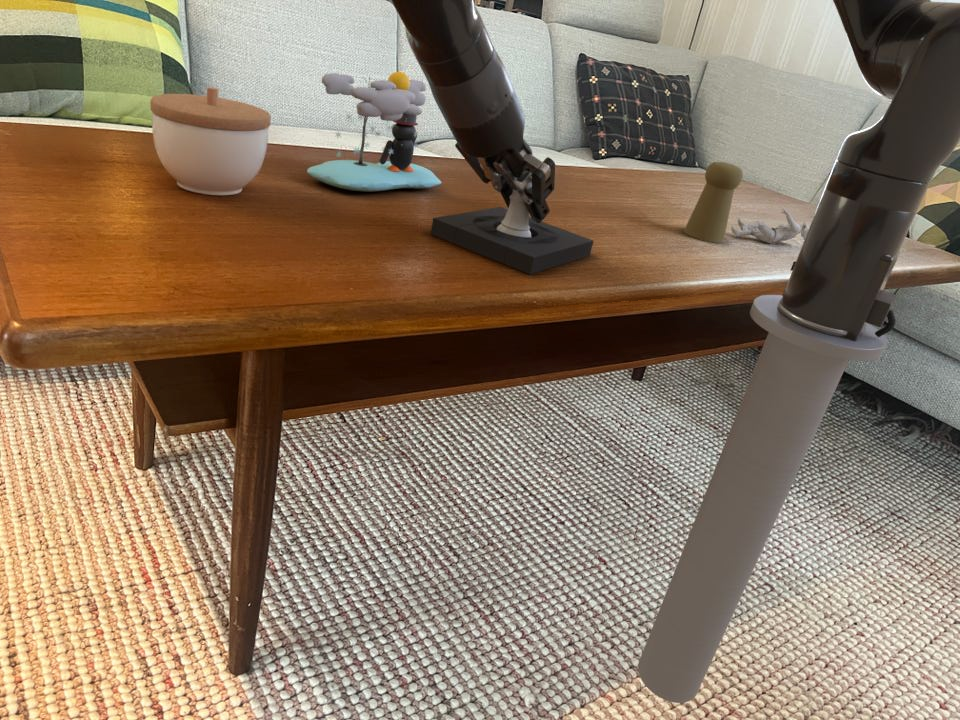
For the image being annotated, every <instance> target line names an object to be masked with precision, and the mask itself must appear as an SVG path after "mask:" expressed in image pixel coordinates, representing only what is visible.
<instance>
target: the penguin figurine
mask: <svg viewBox="0 0 960 720" xmlns="http://www.w3.org/2000/svg"><path fill="white" fill-rule="evenodd" d="M361 79H363V77H361ZM368 80H369V81H368V82H367V80H366V79H364V81H365V82H367V84H368V85H369V86H367V87H365V86H363V87H362V86H359V87H354V86H353V85H354V83H355V78H354V77H353V76H352V75H349V74H340V73H338V72H337V73H336V72H335V73H334V72H333V73H332V72H330V73H326V74H324V75H323V76H322V77H321V83H322V84H323V86H324V87H325V93H326V94H328V95H343V96H351V97H353V98H355V99H357V100H359V102H358V103H357V104H356V114H357V115H358V117H357V119H358V120H363V126H362V134H361V133H360V132H358V133H359V135H361V143H360V148H359V146H357V147H353V150H352V153H354V155H359V160H357V159H356V160H355V159H354V160H353V159H340V157H343V156H342V154H343V152H341V150H338V152H336V155H335V157H337V158H339V159H336V160H335V159H334V160H328V161H325V162H321V163H320V164H317V165H313V166H310V167H308V168H307V169H306V172H307V174H308V176H310V177H311V178H313V179H316V180H317V181H320V182H322V183H324V184H326V185H328V186H331V187H335V188H338V189H342V190H347V191H354V192H364V193H365V192H371V193H372V192H383V191H390V190H398V189H421V190H422V189H430V188H433V187H437V186H439V185H441V184H442V181H441V180H440V179H439V177H437V176H436V175H435V173H434V172H433V171H431V170H430V169H428V168H426V167H424V166H421V165H419V164H416V163H412V162H413V159H414V158H413V157H414V152H415V150H416V148H418V147H419V144H417V143H416V141H417V138H418V136H419V133H418V132H417V130H416V127H415V126H419V124H418V123H417V117H418V116H419V115H421V114H422V113H423V110H422V109H421V106H425V104H426V100H427V99H426V95H425V94H424V93H423V92H425V91H426V90H427V86H426V83H425V82H424V81H422V80H417V79H410V78H409V76H408V75H407V74H406V73H404V72H402V71H395V72H393V73H391V74H390V75H389V76H388V79H381V80H377V79H375V80H374V81H370V80H371V77H368ZM352 84H353V85H352ZM350 114H351V113H350V112H349V113H348V114H345V116H346V118H347V121H350V120H353V118H352V114H351V115H350ZM378 117H380V120H381V121H385V122H386V123H387V124H388V123H390V122H393V123H392V124H388V125H387V128H385V130H386V131H387V132H390V131H391V134H392V137H393V138H394V139H393V140H390V139H389V140H387V141H386V142H385V145H384V146H383V147H381V149H382V154H381V156H380V158H379V162H377V163H374V162H370V161H369V162H368V161H364V151H365V148H371V146H370V143H369V141H366V139H367V138H368V137H369V136H368V134H369V133H367V132H366V128H367V122H368V119H369V118H378ZM370 132H371V134H372V133H373V132H375V137H376V138H378V137H381V135H380V134H381V132H380V131H379V130H377V132H376V126H374V125H373V124H372V126H370ZM341 135H342V133H341V132H340V131H336V132H335V137H337V140H338V139H339V138H342V136H341ZM414 149H415V150H414ZM388 158H389V159H388Z"/></svg>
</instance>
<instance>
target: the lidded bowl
mask: <svg viewBox="0 0 960 720" xmlns="http://www.w3.org/2000/svg"><path fill="white" fill-rule="evenodd" d="M149 102H150V103H149V104H150V105H149V106H150V111H151V129H152V138H153V144H154V147H155V152H156V154H157V156H158V159H159V161H160V163H161V165H162V167H163V168H164V169H165V171H166V172H167V173H168V174H169V175H170V176H171V177H172V178H173V179H174V180H175V181H176V185H177V186H178V187H179V188H181V189H183V190H185V191H189V192H192V193H195V194H196V193H197V194H202V195H209V196H233V195H238V194H240V193H242V192H243V188H244V187H245V186H247V185H248V184H250V183H251V182H252V181H253V180H254V179H255V178H256V176H257V175H258V174H259V173H260V171H261V169H262V168H263V167H262V166H263V164H264V161H265V158H266V155H267V149H268V143H269V133H270V132H269V130H270V127H271V119H272V116H271V114H270V112H268V111H266V110H265V109H263V108H261V107H258V106H256V105H253V104H249V103H245V102H241V101H237V100H233V99H228V98H223V97H219V88H218V87H213V86H206V95H203V94H202V95H201V94H190V93H162V94H157V95H153V96H152V97H151V98H150V100H149Z"/></svg>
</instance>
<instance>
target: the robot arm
mask: <svg viewBox="0 0 960 720" xmlns="http://www.w3.org/2000/svg"><path fill="white" fill-rule="evenodd" d="M390 2H391V3H392V4H391V5H393V7H394V9H395V10H396V12H397V14H398V17H399V19H400V20H401V22H402V24H403V25H404V32H405V36H406V39H407V43H408V45H409V48H410V49H411V52H412V54H413V56H414V58H415V59H416V61H417V63H418V65H419V67H420V69H421V71H422V73H423V75H424V76H425V79H426V81H427V83H428V86H429V88H430V91H431V94H432V97H433V100H434V101H435V103H436V105H437V107H438V109H439V111H440V114H441V115H442V116H443V119H444V120H445V122H446V124H447V126H448V128H449V130H450V132H451V134H452V136H453V138H454V139H455V141H456V143H455V144H454V147H455V149H456V150H457V151H458V152H459V153H460V155H461V156H462V158H464V160H465V161H466V163H467V164H468V165H469V166H470V167H471V169H472V170H473V171H474V173H475V174H476V175H477V176H478V177H479V179H480V180H481V181H482V182H483V183H484V184H485V185H488V184H489V183H491V186H492V188H493V189H494V190H495V191H496V192H499V193H500V195H501V196H502V199H503V201H504V203H505V205H506V207H507V209H508V208H509V205H510V198H509V197H510V196H511V195H512V193H513V190H517V191H518V192H519V194H520V195H521V197H522V199H523V200H524V201H525V202H524V203H525V205H526V207H527V209H528V211H529V217H530V218H532V220H533V221H534V222H536V223H540V222H543V220H544V219H545V218H546V217H547V216H548V215H549V213H550V211H551V210H550V207H549V205H548V203H547V200H546V199H548V197H549V196H550V195H551V194H552V193H553V192H554V190H555V181H556V163H555V161H554V160H553V159H552V158H551V157H546V158H545V159H544V160H543V161H541V159H539V158H537V157H536V156H534V155H533V150H532V148H531V146H530V145H529V144H528V142H527V141H526V140H525V138H524V134H525V127H526V115H525V113H524V110H523V108H522V106H521V103H520V101H519V98H518V96H517V93H516V91H515V88H514V86H513V83H512V81H511V79H510V76H509V74H508V71H507V69H506V66H505V64H504V62H503V60H502V58H501V57H500V55H499V53H498V52H497V51H496V48H495V47H494V44H493V42H492V40H491V37H490V35H489V32H488V30H487V28H486V25H485V23H484V20H483V18H482V17H481V14H480V12H479V10H478V8H477V6H476V4H475V0H390ZM832 2H833V4H834V6H835V9H836V12H837V13H838V16H839V18H840V22H841V24H842V27H843V30H844V32H845V35H846V37H847V41H848V43H849V46H850V48H851V51H852V54H853V56H854V59H855V62H856V64H857V67H858V69H859V72H860V74H861V76H862V78H863V79H864V81H865V83H866V84H867V85H868V87H869V88H870V89H871V90H873V92H875V93H876V94H877V95H878V96H879V95H880V96H882V97H884V98H885V99H887V100H891V101H890V103H889V105H888V107H887V109H886V111H885V113H884V114H883V116H882V117H881V118H880V120H878V121H877V122H876V123H875V124H873V125H872V126H870V127H867V128H865V129H863V130H858V131H855V132H852V133H850V134H849V135H847V136H846V138H845V139H844V141H843V142H842V144H841V147H840V150H839V152H838V153H837V154H838V155H837V156H836V160H835V162H834V164H833V167H832V168H831V172H830V175H829V177H828V180H827V182H826V184H825V187H824V190H823V192H822V194H821V198H820V200H819V203H818V205H817V207H816V210H815V213H814V216H813V218H812V220H811V222H810V224H809V226H810V228H809V230H808V233H807V235H806V238H805V240H804V239H803V244H802V245H801V248H800V250H799V254H798V255H797V258H796V260H795V261H793V262H792V264H791V268H790V272H791V274H790V275H789V279H788V282H787V283H786V286H785V288H784V290H783V292H782V299H781V300H780V301H779V304H778V307H777V309H778V311H779V312H780V313H781V314H782V315H783V316H785V317H786V318H788V319H789V320H791V321H793V322H795V323H797V324H799V325H801V326H804V327H806V328H809V329H811V330H814V331H817V332H820V333H824V334H828V335H832V336H837V337H843V338H847V339H850V340H852V341H857V340H858V338H859V337H860V336H862V334H863V332H864V330H865V329H866V326H867V324H870V325H871V326H873V327H878V328H880V329H877V330H878V331H876V332H875V335H876V336H877V337H880V336H882V335H884V336H885V335H886V334H888V333H890V332H891V331H892V330H893V329H894V328H895V326H896V321H897V320H896V315H895V313H894V310H892V308H893V306H894V304H895V302H896V300H897V298H898V294H895V293H892V292H889V291H886V290H884V289H885V288H886V284H887V283H888V280H889V279H890V276H891V274H892V271H893V270H894V267H895V265H896V263H897V261H898V258H899V257H900V254H901V252H900V250H901V248H902V245H903V244H904V241H905V240H906V237H907V235H908V233H909V230H910V228H911V226H912V224H913V221H914V219H915V217H916V215H917V213H918V211H919V208H920V206H921V204H922V202H923V200H924V198H925V195H926V193H927V191H928V188H929V187H930V183H931V182H932V180H933V179H934V176H935V173H936V172H937V170H938V169H939V168H940V167H941V166H942V165H943V164H944V162H945V161H947V160H948V158H949V157H950V156H951V155H952V154H953V153H954V151H955V149H956V148H957V146H958V144H959V143H960V2H948V1H947V2H946V1H932V0H832ZM516 178H517V179H516ZM529 182H531V183H532V187H531V188H530V189H529V190H527V189H526V185H527V184H528V183H529ZM512 189H513V190H512ZM886 320H887V324H886V325H885V326H883V324H884V323H885V321H886ZM882 326H883V327H882ZM881 327H882V328H881Z"/></svg>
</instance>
